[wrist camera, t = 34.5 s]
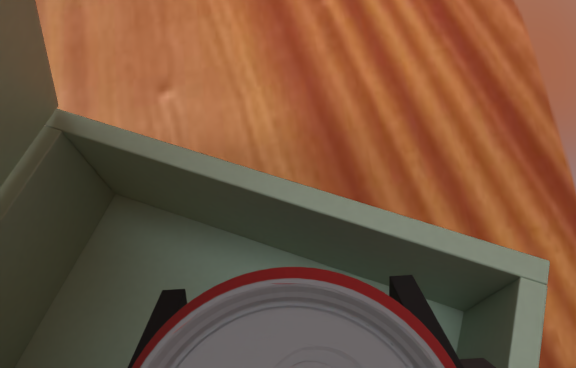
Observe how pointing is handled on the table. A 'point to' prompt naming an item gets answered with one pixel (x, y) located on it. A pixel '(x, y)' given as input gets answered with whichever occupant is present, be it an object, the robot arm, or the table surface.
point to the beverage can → (293, 326)
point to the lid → (22, 82)
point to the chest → (217, 249)
